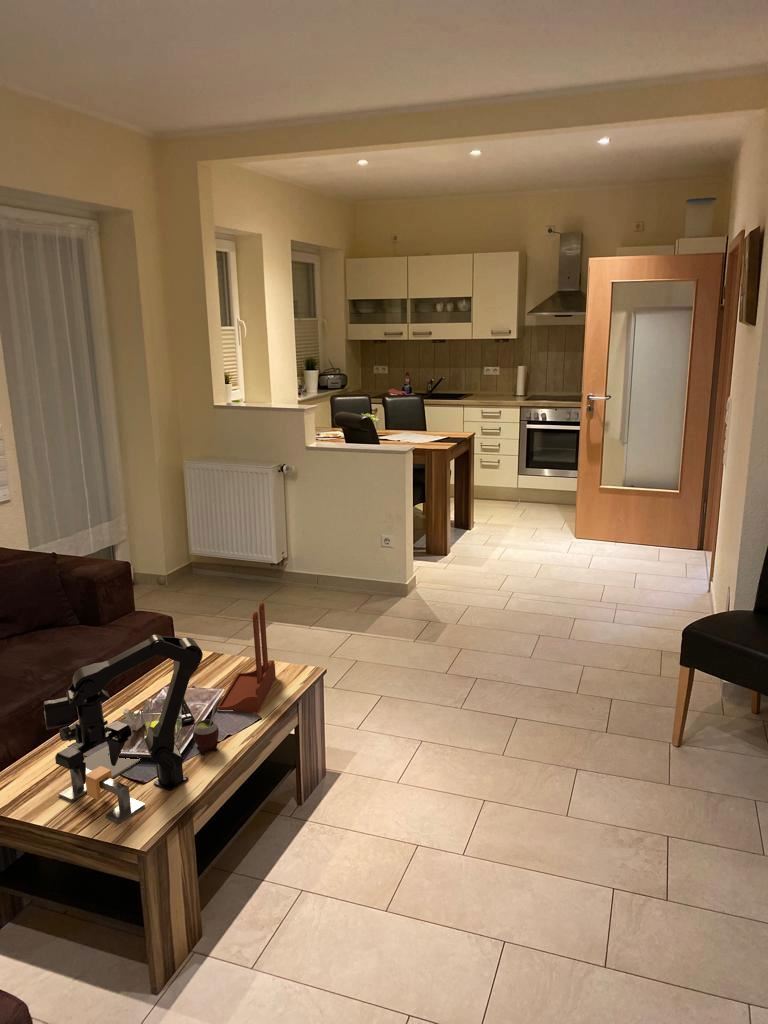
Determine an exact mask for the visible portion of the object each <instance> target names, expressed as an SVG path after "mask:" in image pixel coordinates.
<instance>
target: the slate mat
mask: <svg viewBox="0 0 768 1024" xmlns="http://www.w3.org/2000/svg"><path fill="white" fill-rule="evenodd" d="M108 750H109V746H108V745H107V746H105V747H103V748H101V749H99V750H98V751H96V752H94V753H92V754H89V756H87V757H84V761H83V762H85V763H86V768H87V769H89V770H91V771H92V770H94V769H96V768H98V767H99V766H102V767H105V768H107V769H110V770H111V774H112V779H114V778H116V777H117V776H120V774H122V773H123V771H124V772H125V771H127V770H128V768H129V769H130V768H132V767H134V766H135V765H137V764H139V763H140V762H141V761H140V759H141V758H139V759H130V758H126V759H125V758H118V760H117V763H116V765H115V766H112V765H111V761H110V756H108ZM139 761H140V762H139ZM138 762H139V763H138ZM136 763H137V764H136ZM133 765H134V766H133ZM131 766H132V767H131ZM126 769H127V770H126Z"/></svg>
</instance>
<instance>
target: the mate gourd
mask: <svg viewBox="0 0 768 1024" xmlns="http://www.w3.org/2000/svg"><path fill="white" fill-rule="evenodd" d="M223 696H224V695H221V696H220V697H219V698H218V699H217V700H216V701H215V703H214V704H213V707H212V711H211V712H212V713H211V716H210V719H202V720H200V721H197V722H196V724H195V725H194V726H193V732H192V738H193V741H194V742H195V744H196V749H197V750H200V751H201V752H200V755H201V756H205V755H206V753H207V752H218V750H219V748H217V747H218V741H219V733H220V731H219V728H218V724H217V723H216V722H215V721H214V715H215V711H216V710H217V705H218V704H219V702H220V701H221V699H222V697H223Z"/></svg>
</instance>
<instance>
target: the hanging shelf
mask: <svg viewBox="0 0 768 1024" xmlns="http://www.w3.org/2000/svg"><path fill="white" fill-rule="evenodd" d="M258 610H259V611H254V612H253V613H252V628H253V642H254V656H255V668H256V669H255V670H253V671H249V672H237V674H236V675H235V677H234V678H233V680H232V681H231V683H230V684H229V687H228V688H226V691H225V693H224V694H223V695H222V696H223V697H222V698H221V699H220V700H219V702H218V703H217V705H216V710H217V709H219V710H233V711H242V712H241V713H259V711H260V710H261V708H262V706H263V704H264V702H265V700H266V698H267V696H268V694H269V692H270V690H271V688H272V686H273V684H274V682H275V680H276V678H277V675H276V663H275V662H274V660H270V662H269V656H268V642H267V640H268V639H267V627H266V613H265V604H264V602H260V603H259V607H258ZM258 612H259V613H258Z"/></svg>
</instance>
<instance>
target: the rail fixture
mask: <svg viewBox="0 0 768 1024" xmlns="http://www.w3.org/2000/svg"><path fill="white" fill-rule="evenodd" d="M69 771H70V772H69V773H70V780H71V786H69V787H67V788H66V789H64V790H62V791H61V792H59V793H58V795H59V796H58V797H60V798H62V799H64V800H66V801H68V802H71V803H73V802H74V801H76V800H77V799H79V798H80V797H82V796H84V795H86V794H87V789H86V782H85V784H81V782H80V781H79V779H78V777H77V776H76V774H75V773H74V771H73V770H72V769H69ZM89 772H91V770H89V769H87V768H86V774H87V773H89ZM99 785H100V789H102V790H104V791H107V792H109V793H111V794H114V795H116V796H117V801H118V803H117V804H118V806H117V807H115V808H114V809H112V810H110V811H109V812H107V813H106V814H105V816H104V817H105V819H107V820H110V821H112V822H114V823H116V824H118V825H121V824H122V823H123V822H125V821H126V820H128V819H129V818H130V817H133V815H134V814H137V813H138V812H139V811H141V810H142V809H144V808H145V807H146V804H145V803H144V802H142V801H139V800H137V799H135V798H133V797H131V795H130V794H131V793H130V788H129V787H130V786H129V785H127V784H125V783H122V782H120V781H117V780H115V779H114V778H112V779H110V778H108V777H106V778H105V779H103V780H101V781H100V782H99ZM121 822H122V823H121Z"/></svg>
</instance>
